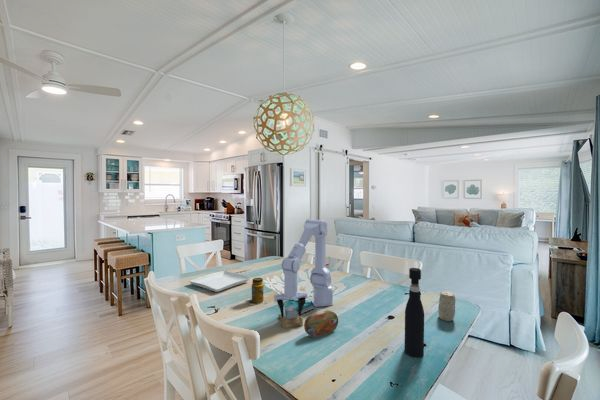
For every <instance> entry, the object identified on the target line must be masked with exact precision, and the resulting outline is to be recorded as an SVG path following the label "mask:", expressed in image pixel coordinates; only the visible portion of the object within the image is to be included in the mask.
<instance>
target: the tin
mask: <svg viewBox="0 0 600 400" xmlns="http://www.w3.org/2000/svg"><path fill="white" fill-rule="evenodd" d="M338 324H339V317H338V315H337V314H336V313H335V312H334V311H332V310H324V311H320V312H316V313H312V314H309V315H308V316H307V317H306V318H305V321H304V323H303V327H304V331H305V333H306V334H307V335H308V336H309V337H311V338H317V337H321V336H323V335H327V334H330V333H333V332H334V331H335V330H336V329H337V327H338Z"/></svg>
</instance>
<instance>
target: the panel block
mask: <svg viewBox="0 0 600 400" xmlns="http://www.w3.org/2000/svg"><path fill="white" fill-rule="evenodd" d="M297 313H298V310H297V309H296V307H295V305H294V304H291V305H290V304H289V305H284V318H286V319H294V318H297Z"/></svg>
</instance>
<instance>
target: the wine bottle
mask: <svg viewBox="0 0 600 400" xmlns="http://www.w3.org/2000/svg"><path fill="white" fill-rule="evenodd" d="M408 271H409V272H408V273H409V274H408V277H409V279H410V280H411V281H410V285H409V291H408V299H407V302H406V305H405V309H404V353H405V354H406V355H407V356H409V357H412V358H415V357H416V358H417V359H418V358H422V357H424V353H425V310H424V306H423V303H422V299H421V296H422V295H421V289H420V288H421V287H420V280H421V279H422V269H421V268H418V267H417V268H416V267H411V268H409V269H408Z"/></svg>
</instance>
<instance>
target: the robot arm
mask: <svg viewBox="0 0 600 400" xmlns="http://www.w3.org/2000/svg"><path fill="white" fill-rule="evenodd" d="M326 236H328V223H327V222H326V220H324V219H311V218H307V219H306V220H305V221H304V224H303V232H302V234H301V236H300V238H299V241H298V243H295V244H294V245H293V247H292V248H291V250H290V252H289V254H288V255H287V257H285V258H283V260H282V262H281V265H280V266H281V269H282V273H283V276H284V279H283V280H284V283H283V284H284V286H283V287H284V290H283V291H284V293H281V294H277V295H274V296H273V299H274V300H273V301H274V302H275V303H276V302H277V306H278V308H279V310H280V314H281V316H282V318H285V312H284V308H285V305H284V304H285V303H284V301H288V300H291V301H293V300H297V303H298V304H297V305H298V306H297V313H298V316H299V317H300V316H302V311H303V307H304V306H305V304H306V299H308V293H307V292H298V271H299V270H300V268H301V263H302V259H303V257H304V254H305V253H306V246H307V245H308V243H309V242H310V240H311V238H312V237H314V238H315V249H314V250H315V253H314V255H315V256H314V268H313V269H311V271H310V277H309V281H310V283H311V286H312V287H313V300H314V301H312V302H311V303H312V305H313V306H314V307H315V308H316V307H317V308H318V307H329V306H334V303H333V300H334V299H333V296H334V295H333V294H334V293H333V287H332V286H331V284H332V275H331V271H330V270H329V269H328V268H327V267H326V247H327V246H326V241H327V240H326V239H327V238H326Z"/></svg>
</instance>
